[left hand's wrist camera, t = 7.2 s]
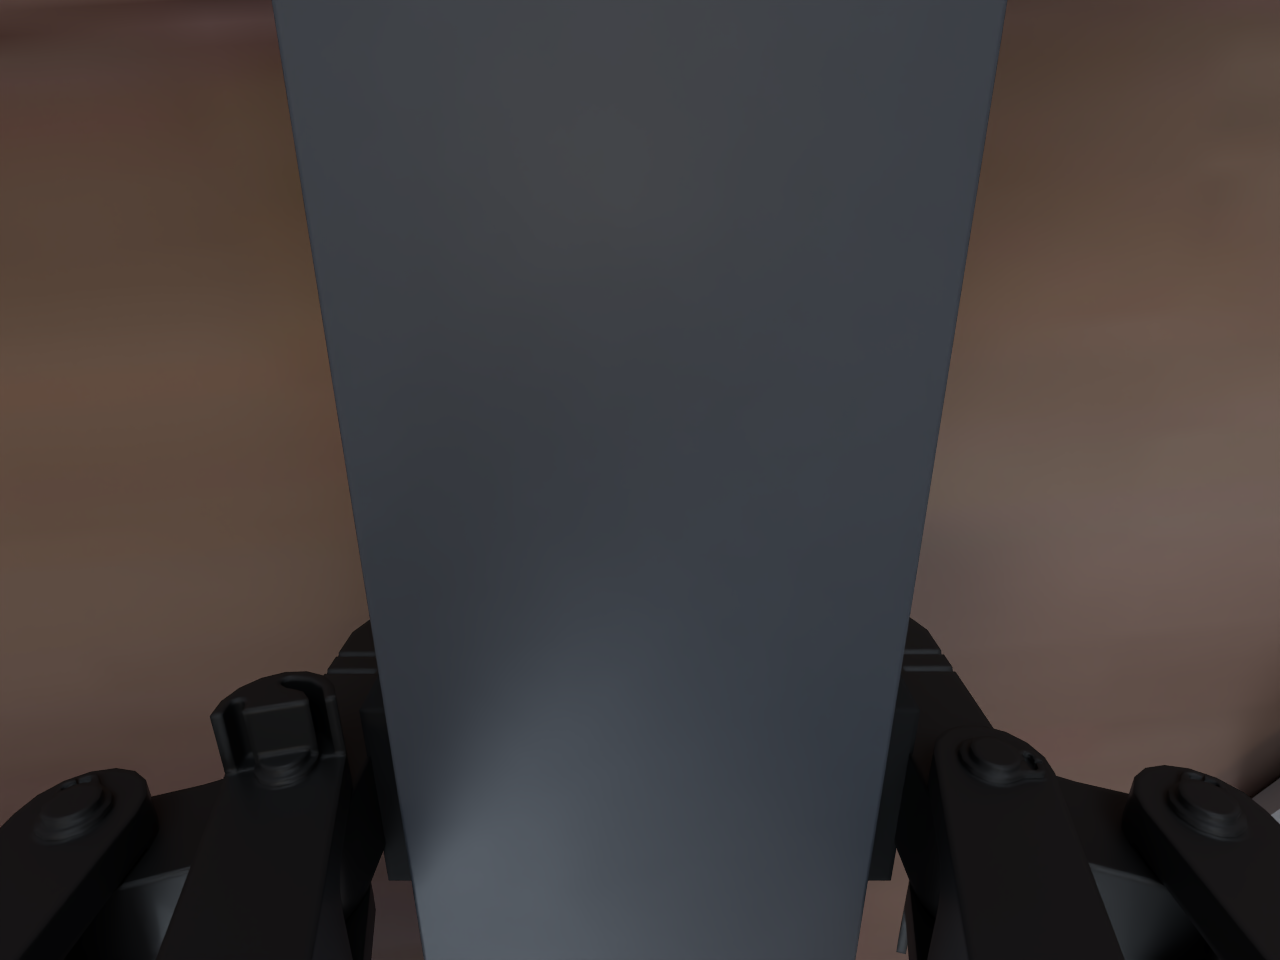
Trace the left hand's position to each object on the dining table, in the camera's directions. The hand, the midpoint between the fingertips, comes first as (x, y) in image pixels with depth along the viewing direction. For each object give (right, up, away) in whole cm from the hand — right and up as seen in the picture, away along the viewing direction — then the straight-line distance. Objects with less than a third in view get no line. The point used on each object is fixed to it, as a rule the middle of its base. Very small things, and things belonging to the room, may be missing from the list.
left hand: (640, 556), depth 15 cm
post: (0, +28, -10) cm, 30 cm away
